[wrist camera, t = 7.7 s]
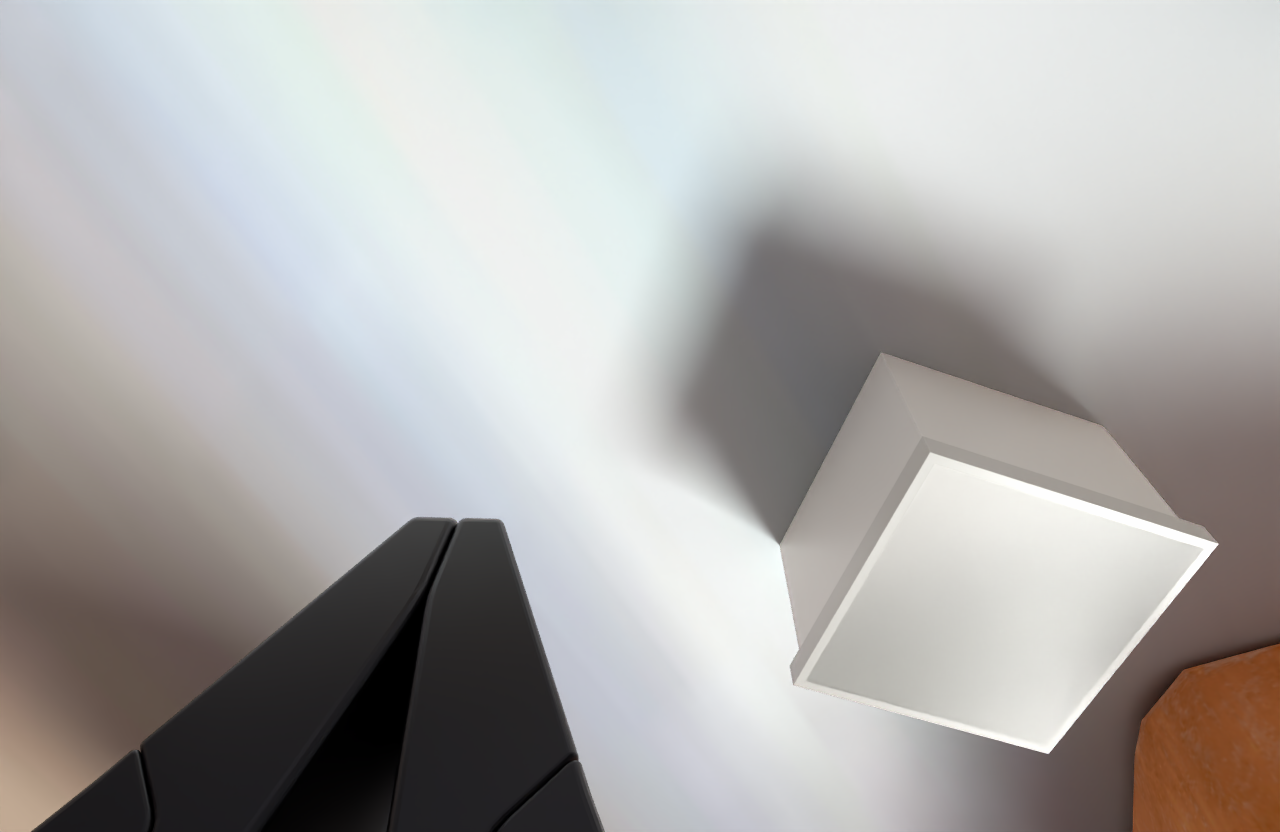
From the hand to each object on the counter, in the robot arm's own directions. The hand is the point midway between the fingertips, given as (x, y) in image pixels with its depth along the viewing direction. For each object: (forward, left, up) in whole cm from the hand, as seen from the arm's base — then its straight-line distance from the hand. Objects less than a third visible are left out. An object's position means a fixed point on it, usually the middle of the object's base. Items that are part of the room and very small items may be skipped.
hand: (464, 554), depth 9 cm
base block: (-5, -11, -13) cm, 18 cm away
